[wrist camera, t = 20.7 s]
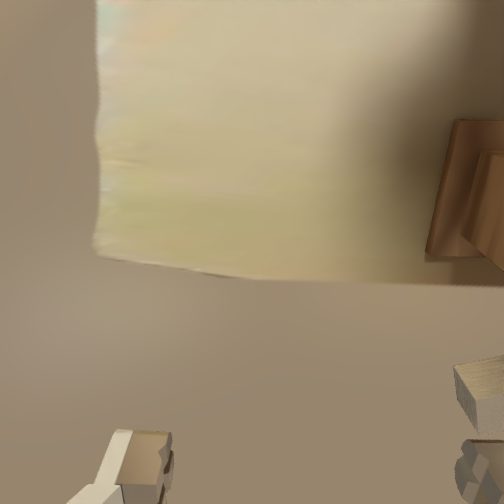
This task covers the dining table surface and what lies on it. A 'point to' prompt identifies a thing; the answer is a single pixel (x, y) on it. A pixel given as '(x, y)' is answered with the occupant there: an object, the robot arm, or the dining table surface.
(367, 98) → the dining table surface
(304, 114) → the dining table surface
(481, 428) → the grey and tan bar
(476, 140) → the scale stand
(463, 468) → the robot arm
